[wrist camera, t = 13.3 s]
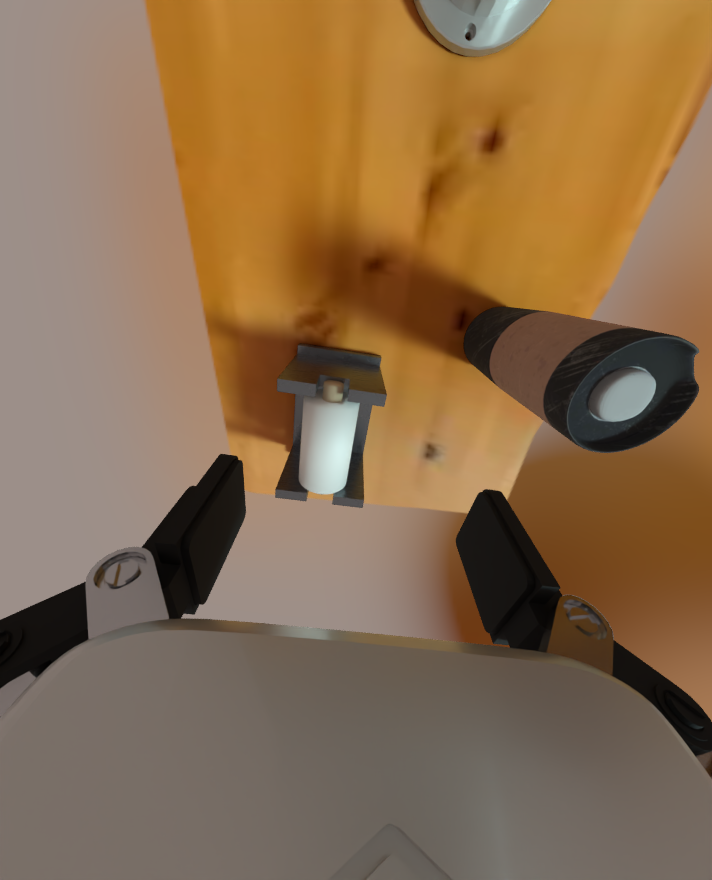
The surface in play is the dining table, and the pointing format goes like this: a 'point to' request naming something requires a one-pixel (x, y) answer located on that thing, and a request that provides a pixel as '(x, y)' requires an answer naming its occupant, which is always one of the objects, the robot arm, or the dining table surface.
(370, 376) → the roll holder
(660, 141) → the dining table surface
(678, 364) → the travel mug
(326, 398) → the paper roll
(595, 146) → the dining table surface
